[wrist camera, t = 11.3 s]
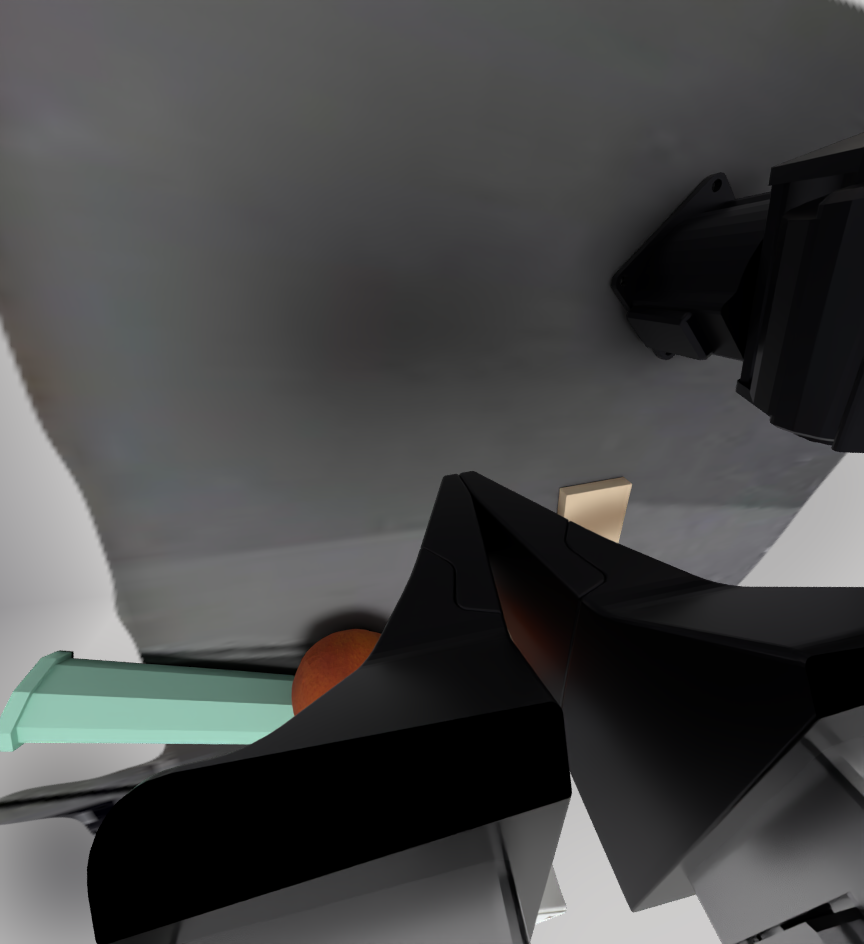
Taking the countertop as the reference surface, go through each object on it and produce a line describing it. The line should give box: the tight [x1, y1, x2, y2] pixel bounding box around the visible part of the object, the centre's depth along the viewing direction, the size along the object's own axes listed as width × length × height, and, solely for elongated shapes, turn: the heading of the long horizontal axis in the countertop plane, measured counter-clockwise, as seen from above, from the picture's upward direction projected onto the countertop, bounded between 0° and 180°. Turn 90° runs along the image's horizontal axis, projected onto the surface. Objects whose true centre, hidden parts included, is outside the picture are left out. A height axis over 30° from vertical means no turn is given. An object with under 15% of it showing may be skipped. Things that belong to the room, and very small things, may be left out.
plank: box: [557, 477, 632, 543], centre depth 33 cm, size 33×5×1 cm, turn 6°
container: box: [0, 650, 295, 751], centre depth 28 cm, size 6×6×25 cm
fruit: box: [291, 629, 381, 716], centre depth 27 cm, size 9×9×8 cm
